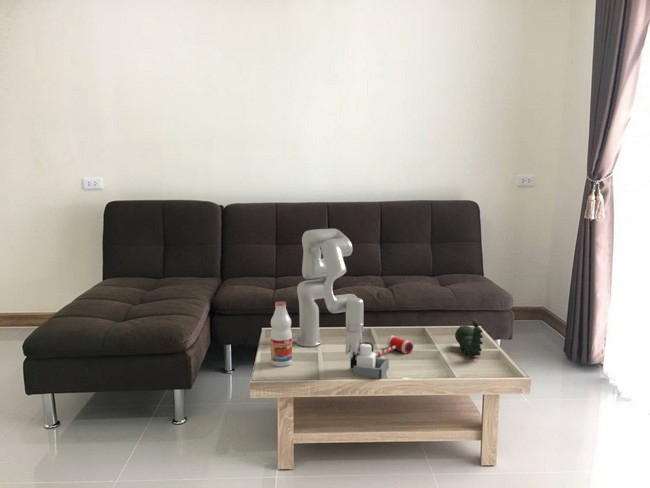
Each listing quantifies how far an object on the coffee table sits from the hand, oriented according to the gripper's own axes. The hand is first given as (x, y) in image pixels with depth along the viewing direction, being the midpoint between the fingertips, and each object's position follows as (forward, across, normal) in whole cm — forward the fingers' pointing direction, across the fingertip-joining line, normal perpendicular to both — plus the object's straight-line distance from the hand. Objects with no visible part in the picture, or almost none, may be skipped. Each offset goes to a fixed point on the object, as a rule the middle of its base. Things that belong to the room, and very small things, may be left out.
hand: (354, 367), depth 253 cm
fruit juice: (+1, +2, -33) cm, 33 cm away
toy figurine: (+1, -39, +45) cm, 59 cm away
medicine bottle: (+1, -1, +5) cm, 5 cm away
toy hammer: (+2, -26, +11) cm, 29 cm away
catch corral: (+1, 0, +7) cm, 7 cm away
